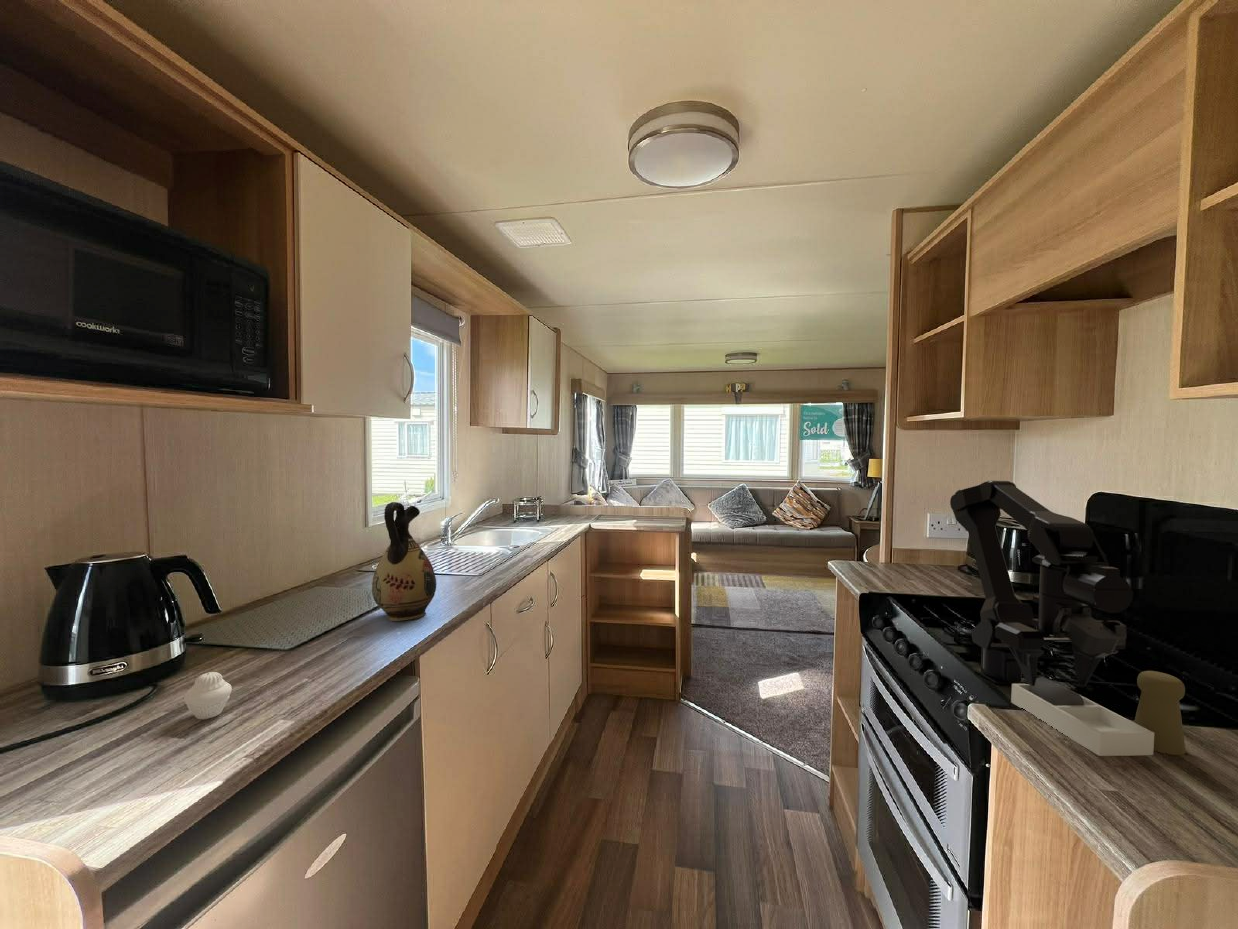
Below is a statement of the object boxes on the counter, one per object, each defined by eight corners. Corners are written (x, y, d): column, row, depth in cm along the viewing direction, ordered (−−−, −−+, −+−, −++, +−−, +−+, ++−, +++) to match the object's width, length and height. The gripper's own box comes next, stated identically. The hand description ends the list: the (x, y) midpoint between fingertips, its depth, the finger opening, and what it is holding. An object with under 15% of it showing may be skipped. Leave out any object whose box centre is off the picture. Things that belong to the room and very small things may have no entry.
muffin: (239, 703, 90) (238, 663, 89) (221, 722, 84) (221, 679, 83) (196, 707, 88) (196, 666, 88) (175, 726, 82) (175, 682, 82)
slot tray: (1011, 702, 94) (1011, 683, 94) (1056, 701, 95) (1057, 683, 95) (1099, 756, 78) (1100, 733, 78) (1153, 755, 79) (1154, 732, 78)
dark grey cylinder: (1029, 699, 93) (1031, 676, 93) (1050, 699, 93) (1052, 677, 93) (1060, 716, 87) (1062, 692, 87) (1083, 716, 87) (1084, 693, 87)
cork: (1128, 729, 86) (1131, 663, 86) (1181, 742, 82) (1185, 673, 82) (1132, 745, 81) (1136, 675, 81) (1189, 760, 77) (1193, 687, 77)
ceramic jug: (394, 605, 145) (394, 497, 144) (446, 609, 143) (447, 499, 142) (354, 625, 128) (353, 503, 127) (412, 630, 126) (412, 505, 125)
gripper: (1049, 609, 81) (1045, 708, 82) (1163, 609, 82) (1158, 707, 83) (994, 589, 92) (990, 677, 93) (1095, 589, 93) (1091, 676, 94)
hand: (1056, 684), depth 90 cm, fingers open, 9 cm apart
